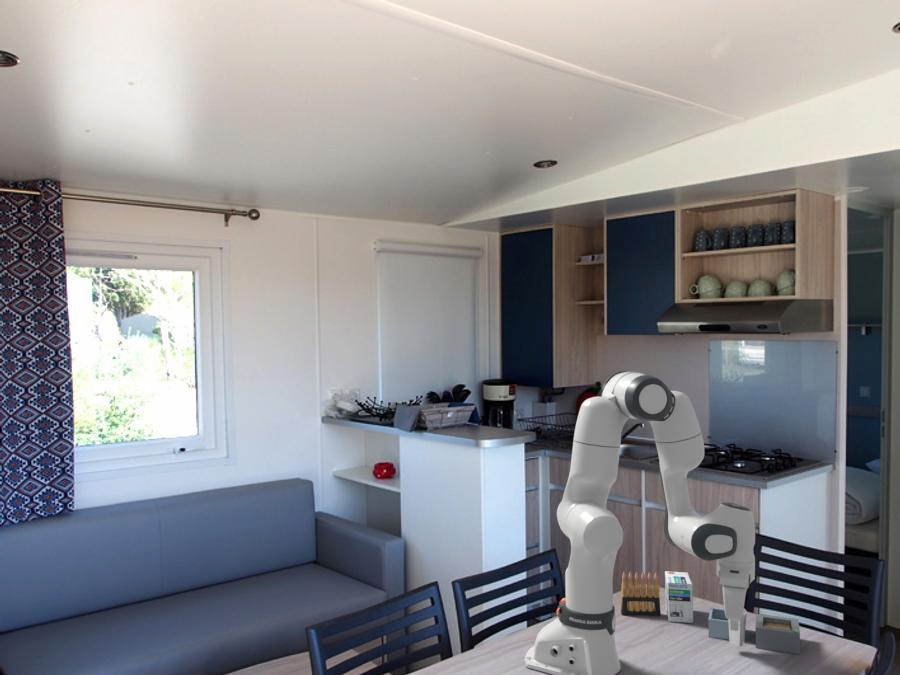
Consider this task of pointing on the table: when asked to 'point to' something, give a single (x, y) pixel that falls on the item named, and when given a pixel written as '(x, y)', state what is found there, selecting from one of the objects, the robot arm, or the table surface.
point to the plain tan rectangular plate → (776, 625)
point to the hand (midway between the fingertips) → (735, 625)
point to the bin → (718, 624)
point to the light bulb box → (679, 597)
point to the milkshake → (738, 636)
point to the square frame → (777, 634)
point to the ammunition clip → (640, 596)
